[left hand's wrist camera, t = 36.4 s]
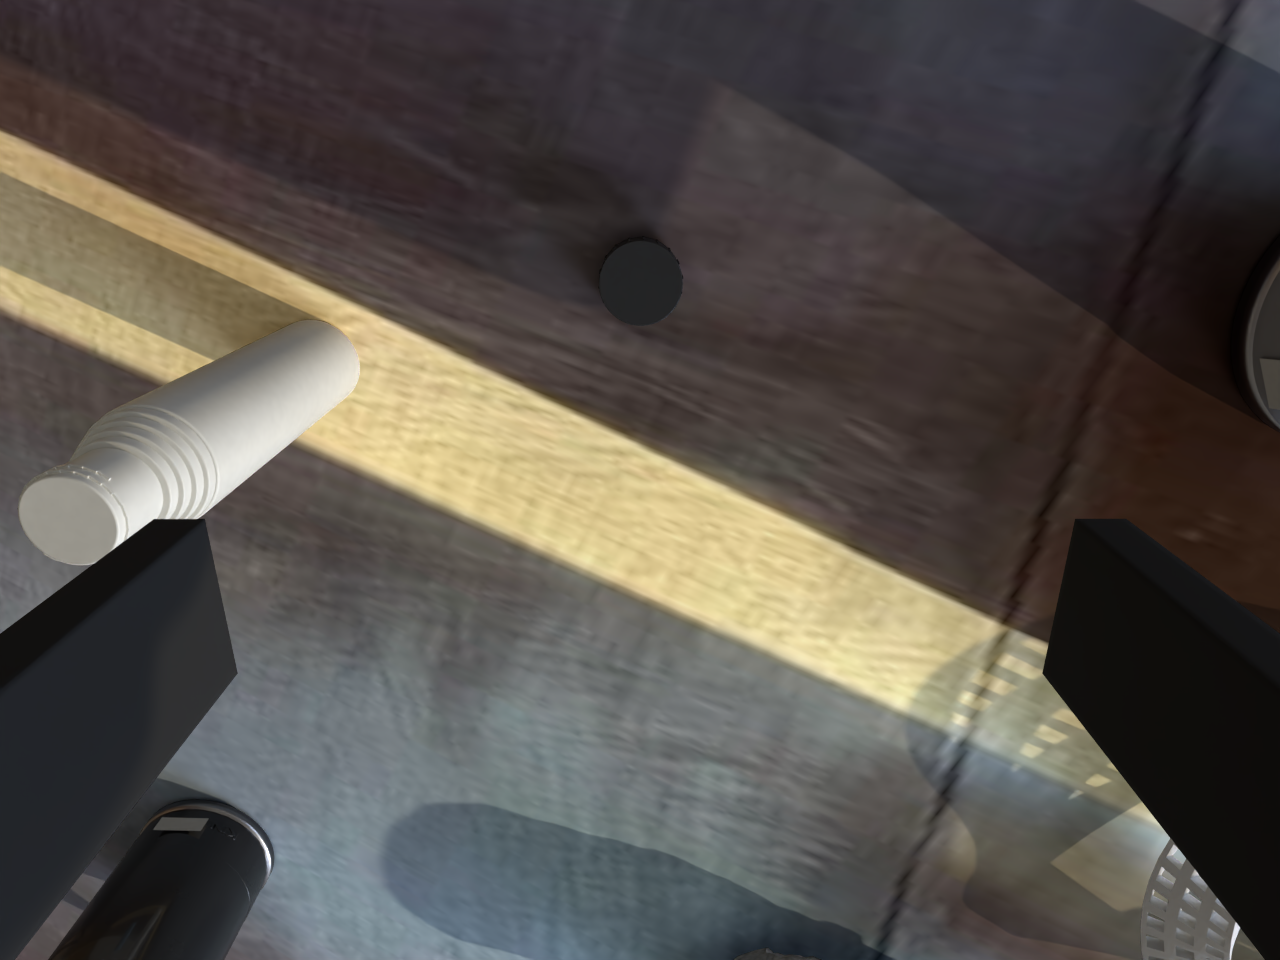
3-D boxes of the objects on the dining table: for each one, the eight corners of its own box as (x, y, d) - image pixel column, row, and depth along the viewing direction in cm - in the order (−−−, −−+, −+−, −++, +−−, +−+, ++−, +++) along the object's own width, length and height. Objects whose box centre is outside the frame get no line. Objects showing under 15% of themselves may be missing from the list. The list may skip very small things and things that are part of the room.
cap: (614, 329, 46) (613, 337, 44) (589, 250, 45) (587, 254, 43) (690, 306, 46) (693, 313, 44) (668, 225, 44) (669, 228, 42)
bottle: (298, 301, 46) (22, 419, 25) (376, 353, 47) (172, 507, 26) (257, 371, 47) (-35, 536, 27) (333, 420, 48) (109, 615, 28)
